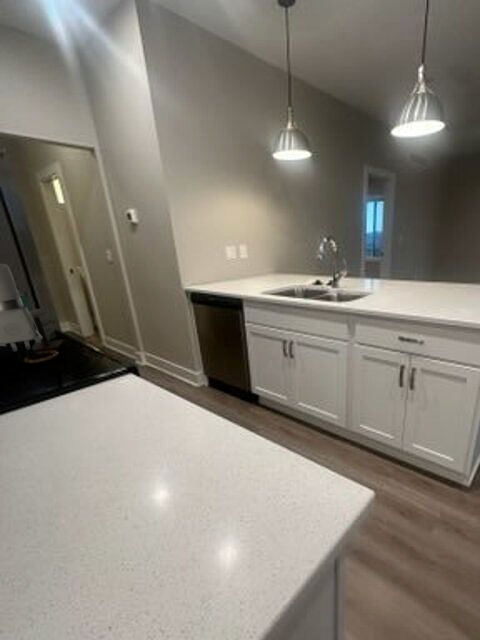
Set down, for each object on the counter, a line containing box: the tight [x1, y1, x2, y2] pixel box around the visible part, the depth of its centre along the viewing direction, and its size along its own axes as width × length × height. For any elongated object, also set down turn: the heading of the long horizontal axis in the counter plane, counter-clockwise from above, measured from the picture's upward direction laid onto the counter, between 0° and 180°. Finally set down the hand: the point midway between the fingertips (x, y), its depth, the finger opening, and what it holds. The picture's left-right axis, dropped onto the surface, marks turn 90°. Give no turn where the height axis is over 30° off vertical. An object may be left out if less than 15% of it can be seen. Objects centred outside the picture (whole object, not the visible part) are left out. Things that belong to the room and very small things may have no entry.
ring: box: [24, 349, 60, 364], centre depth 114 cm, size 9×9×1 cm
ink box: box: [29, 307, 58, 343], centre depth 131 cm, size 9×5×12 cm, turn 178°
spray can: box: [16, 285, 33, 311], centre depth 138 cm, size 6×6×20 cm
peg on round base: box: [32, 317, 65, 353], centre depth 122 cm, size 9×9×12 cm
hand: (28, 359), depth 113 cm, fingers closed on ring, 1 cm apart
